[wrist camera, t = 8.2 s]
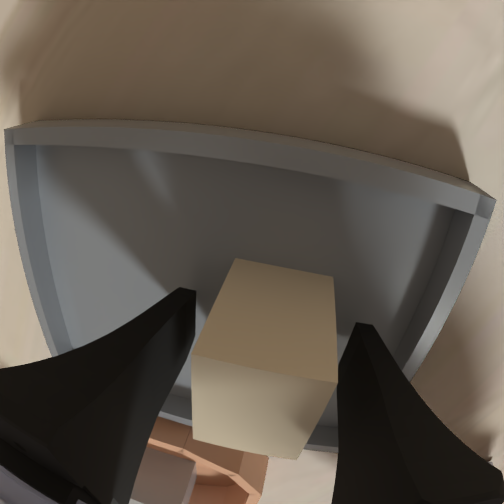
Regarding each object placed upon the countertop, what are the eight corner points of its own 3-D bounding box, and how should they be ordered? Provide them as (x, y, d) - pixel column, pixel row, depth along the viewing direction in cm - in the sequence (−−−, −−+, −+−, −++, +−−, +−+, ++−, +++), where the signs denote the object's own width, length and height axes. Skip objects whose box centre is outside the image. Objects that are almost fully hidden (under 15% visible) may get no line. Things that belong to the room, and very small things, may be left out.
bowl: (282, 424, 15) (275, 469, 13) (253, 493, 21) (247, 521, 19) (76, 364, 17) (53, 396, 14) (114, 452, 22) (102, 476, 20)
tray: (470, 181, 8) (496, 200, 7) (355, 426, 15) (355, 454, 13) (36, 120, 10) (4, 129, 8) (76, 356, 16) (60, 377, 15)
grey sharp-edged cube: (195, 461, 18) (177, 514, 15) (196, 477, 20) (181, 524, 16) (141, 444, 19) (119, 493, 15) (147, 461, 20) (128, 506, 16)
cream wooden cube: (235, 257, 11) (191, 353, 7) (333, 276, 10) (338, 382, 6) (225, 346, 12) (192, 439, 9) (306, 361, 12) (296, 460, 8)
